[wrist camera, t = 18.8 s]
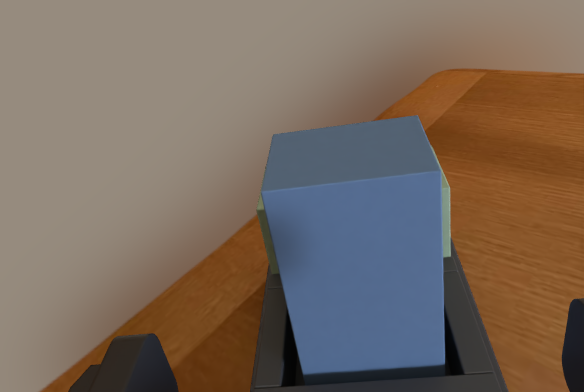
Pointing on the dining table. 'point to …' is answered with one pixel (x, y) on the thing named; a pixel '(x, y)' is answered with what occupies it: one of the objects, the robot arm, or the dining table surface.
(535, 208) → the dining table surface
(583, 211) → the dining table surface
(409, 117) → the blue rectangular block
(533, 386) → the dining table surface
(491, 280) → the dining table surface
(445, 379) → the seat frame
